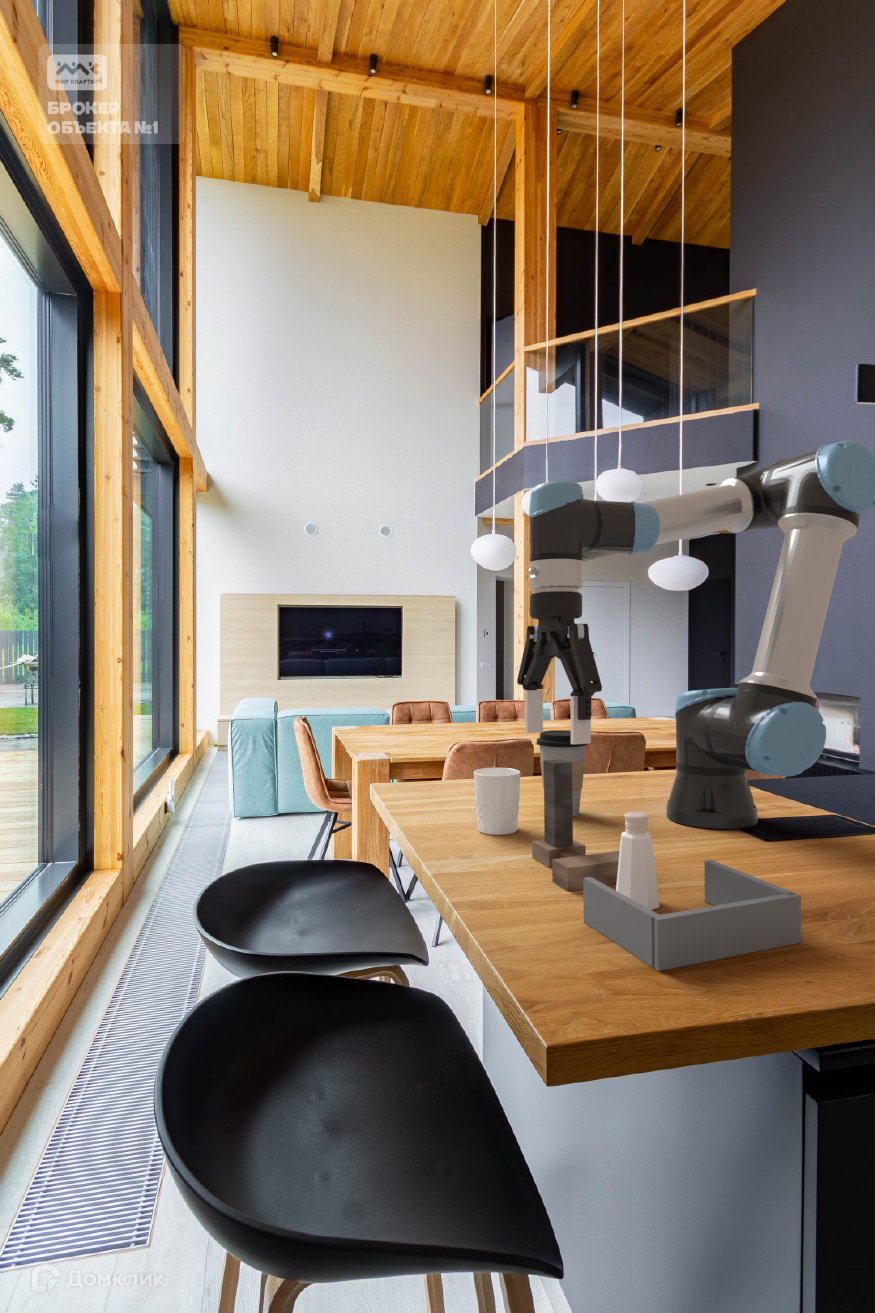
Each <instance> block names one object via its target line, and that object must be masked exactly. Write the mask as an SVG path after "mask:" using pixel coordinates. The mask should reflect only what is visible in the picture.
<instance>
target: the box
mask: <svg viewBox="0 0 875 1313" xmlns="http://www.w3.org/2000/svg"><path fill="white" fill-rule="evenodd" d="M582 890H583V893H582V894H583V897H582V898H583V922H584V923H585V924H587V925H588V926H590V927H591V928H593V929H594V930H596V931H597V932H598V933H600V934H602V935H603V936H604V937H606V938H607V939H609V940H611V941H612V942H614V943H615V944H616V945H618V946H619V947H621V948H623V949H624V950H626V951H627V952H628V953H630V954H632V955H633V956H635V957H636V958H637V959H638V960H640V961H642V962H643V963H645V964H646V965H648V966H649V967H651V968H652V969H653V970H655V971H656V972H662V971H668V970H673V969H676V968H681V967H687V966H691V965H697V964H701V963H707V962H711V961H716V960H722V959H726V958H727V959H728V958H731V957H737V956H741V955H746V954H751V953H756V952H760V951H762V952H763V951H766V950H770V949H775V948H780V947H786V946H791V945H797V944H800V943H802V897H801V896H802V895H801V894H798V893H796V892H793V891H792V890H788V889H786V888H783V887H781V886H778V885H776V884H774V883H771V882H768V881H765V880H763V879H761V878H758V877H755V876H753V875H750V874H747V873H745V872H743V871H740V870H738V869H735V868H733V867H731V866H728V865H725V864H723V863H720V862H718V861H715V860H713V859H707V860H704V902H705V903H708V904H709V905H711V906H705V907H699V908H694V909H693V908H692V909H687V910H681V911H675V912H670V913H669V912H668V913H662V914H659V913H657V912H655V911H653V910H650V909H648V908H646V907H644V906H643V905H641V904H639V903H637V902H635V901H634V900H632V899H630V898H628V897H626V896H625V895H623V894H621V893H619V892H617V891H616V889H613V888H612V887H610V886H609V885H607V886H606V885H605V884H603V883H601V882H599V881H597V880H595V879H594V878H592V877H587V878H583V889H582Z"/></svg>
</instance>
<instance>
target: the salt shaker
mask: <svg viewBox="0 0 875 1313" xmlns="http://www.w3.org/2000/svg"><path fill="white" fill-rule="evenodd" d="M624 819H625V821H624V823H625V824H624V826H625V831H623V832H621V836H620V843H619V844H620V845H619V851H620V853H619V864H618V874H617V884H615V885H616V886H615V888H616V889H615V891H617V892H619V893H621V894H623V895H625V896H626V897H628V898H630V899H632V900H634V901H635V902H637V903H639V904H641V905H643V906H644V907H646V908H648V909H650V910H652V911H653V910H657V909H658V908H660V906H661V905H660V898H659V888H658V880H657V872H656V862H655V852H654V844H653V837H652V835H651V833H650V832H648V827H649V826H648V824H649V823H648V822H649V821H648V820H649V815H648V814H647V813H645V812H642V811H629V812H626V813H625V814H624Z"/></svg>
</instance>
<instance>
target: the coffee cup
mask: <svg viewBox="0 0 875 1313" xmlns="http://www.w3.org/2000/svg"><path fill="white" fill-rule="evenodd" d="M535 744H536V745H538V746H539V753H540V759H539V760H540V762H539V763H540V770H541V779H542V780H541V781H542V788H543V789H544V761H545V760H558V759H563V760H566V761H570V762H572V798H573V818H574V817H578V815H580V807H581V798H582V797H581V795H582V789H583V786H584V785H583V782H584V773H585V761H586V758H585V752H586V746H588V744H571V730H568V729H567V730H563V729H562V730H558V729H557V730H545V731H544V730H543V732H539V737H538V738H536V743H535Z"/></svg>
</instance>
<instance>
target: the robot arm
mask: <svg viewBox="0 0 875 1313" xmlns="http://www.w3.org/2000/svg"><path fill="white" fill-rule="evenodd" d="M583 493H584V492H583V487H582V486H581V484H579V483H577V482H572V481H565V480H560V481H559V480H558V481H557V480H555V481H549V482H548V481H547V482H543V483H540V484H538V485H536V486H534V488H533V489H532V490H531V493H530V500H529V514H528V519H529V562H530V563H529V568H528V569H527V570H528V574H529V584H530V585H529V588H530V589H531V590H533V591H534V592H533V593H531V594H530V595H529V617H530V618H531V619H533V620H538V624H537V625H527V626H526V635H525V636H526V639H525V644H524V649H523V652H522V658H521V661H520V664H519V665H520V666H519V670H518V675H517V680H516V682H517V685H519V686H520V685H521V687H522V689H523V690H524V733H525V734H533V733H541V732H544V687H543V684H542V683H543V681H544V678H545V676H546V674H547V671H548V669H549V666H550V664H551V661H552V659H554V658H557V659H558V660H560V662H561V665H562V667H563V670H564V672H565V674H566V676H567V679H568V681H569V684H570V686H571V689H572V691H571V692H570V694H569V696H570V731H571V744H592V742H591V739H592V736H591V734H592V730H591V729H592V726H591V725H592V722H591V721H592V697H593V696H594V695H595V694H596V693H599V692H601V691H602V690H603V685H602V682H601V677H600V675H599V670H598V667H597V663H596V660H595V656H594V652H593V649H592V644H591V641H590V631H589V630H590V628H589V624H588V623H575V620H576V619H577V620H578V619H580V618H582V616H583V594H582V593H581V592H579V590H581V589H582V588H583V586H584V585H583V562H585V561H586V562H587V561H590V560H595V559H599V558H604V557H608V556H611V555H616V554H628V555H633V554H634V555H635V554H646V553H649V552H650V551H651V550H652V549H653V548H654V547H655V546H657V545H662V544H667V543H670V542H676V541H679V540H683V539H688V538H693V537H699V536H703V535H706V534H711V533H715V532H716V533H717V532H720V531H727V532H730V533H731V534H738V533H742V532H747V531H754V530H767V529H779V528H780V529H781V531H782V532H783V533H784V539H783V542H782V545H781V546H782V547H781V550H780V555H779V559H778V564H777V568H776V571H775V576H774V579H773V584H772V589H771V591H770V597H769V600H768V604H767V608H766V613H765V617H764V621H763V626H762V630H761V634H760V637H759V642H758V645H757V649H756V653H755V658H754V663H753V666H752V669H751V670H752V671H751V672H750V674H749V675H748V676H747V675H746V677H744V678H743V679H741V680H739V682H738V686H737V687H727V688H725V687H724V688H709V689H697V690H695V689H694V690H687V691H683V692H680V693H679V694H678V696H677V697H676V703H675V712H674V715H675V724H676V725H675V731H676V732H675V735H676V736H675V737H676V738H675V742H676V744H675V745H676V748H675V749H676V750H675V752H676V753H675V754H676V775H675V778H674V780H673V784H672V787H671V792H670V795H669V799H668V800H667V802H666V817H667V818H668V819H669V820H670V821H672V822H675V823H678V824H682V825H686V826H689V827H697V828H703V829H715V830H716V829H717V830H718V829H720V830H721V829H723V830H732V829H745V828H750V827H753V826H755V825H757V824H758V822H759V820H758V818H759V816H758V814H759V813H758V808H757V805H756V804H755V802H754V796H753V794H752V791H751V787H750V784H749V782H748V777H747V770H748V771H753V772H756V773H759V774H762V775H765V776H778V777H785V778H786V777H793V776H797V775H799V774H801V773H804V772H805V771H806V770H808V769H810V768H811V767H812V766H813V765H814V764H816V761H817V760H818V759H819V758H820V756H821V755H822V753H823V751H824V749H825V745H826V742H827V741H826V740H827V727H826V725H825V724H824V723H823V722H824V718H823V715H822V714H821V712H820V711H819V710H817V709H816V707H817V702H818V697H817V695H816V694H815V692H814V691H813V689H812V688H811V679H812V676H813V671H814V668H815V663H816V660H817V654H818V651H819V648H820V647H819V646H820V642H821V638H822V634H823V630H824V625H825V622H826V616H827V614H828V613H827V612H828V609H829V603H830V599H831V595H832V591H833V587H834V583H835V579H836V575H837V570H838V566H839V562H840V558H841V553H842V550H843V545H844V543H845V542H846V541H847V540H849V539H851V538H852V537H854V536H855V535H856V534H857V532H858V529H859V524H860V520H861V516H862V514H866V513H867V512H869V511H871V510H873V509H874V507H875V453H874V452H873V451H872V450H871V449H870V448H868V446H866V445H865V444H862V443H860V442H858V441H854V440H842V441H839V442H835V443H834V442H833V443H826V444H823V445H822V446H820V447H818V448H817V449H816V448H815V449H813V450H809V451H806V452H803V453H800V454H797V455H794V456H790V457H787V458H785V459H784V458H783V459H781V460H779V461H776V462H773V463H770V464H768V465H766V466H763V467H761V468H759V469H757V470H754V471H752V472H748V473H745V474H743V475H740V476H737V477H733V478H727V479H725V480H723V481H722V482H721V483H720V484H719V486H717V487H711V488H707V489H701V490H697V491H692V492H687V493H683V494H677V495H674V496H673V495H672V496H669V497H664V498H659V499H654V500H648V501H643V502H635V500H634V501H614V500H613V501H609V500H594V499H593V500H591V499H586V498H584V497H585V496H584V494H583Z"/></svg>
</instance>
